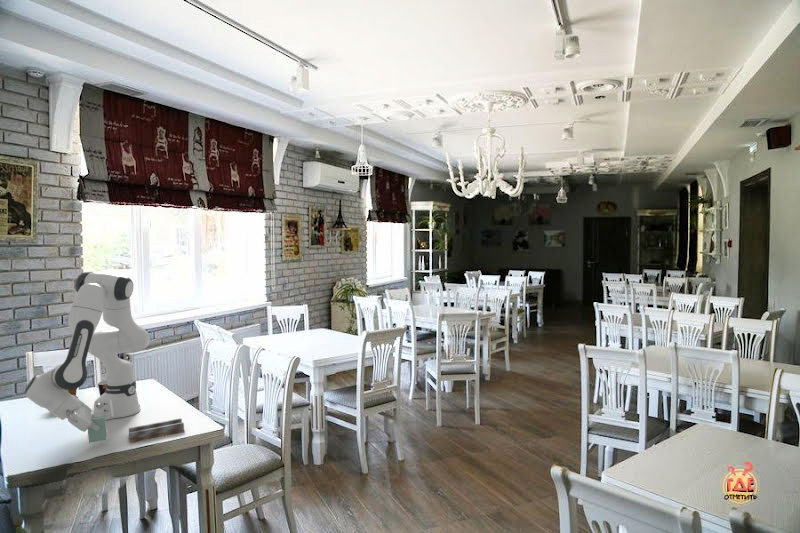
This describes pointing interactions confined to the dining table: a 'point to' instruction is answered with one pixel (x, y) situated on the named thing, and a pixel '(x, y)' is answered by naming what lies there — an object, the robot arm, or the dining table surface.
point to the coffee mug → (101, 388)
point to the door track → (156, 430)
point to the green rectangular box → (101, 433)
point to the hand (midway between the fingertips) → (98, 427)
